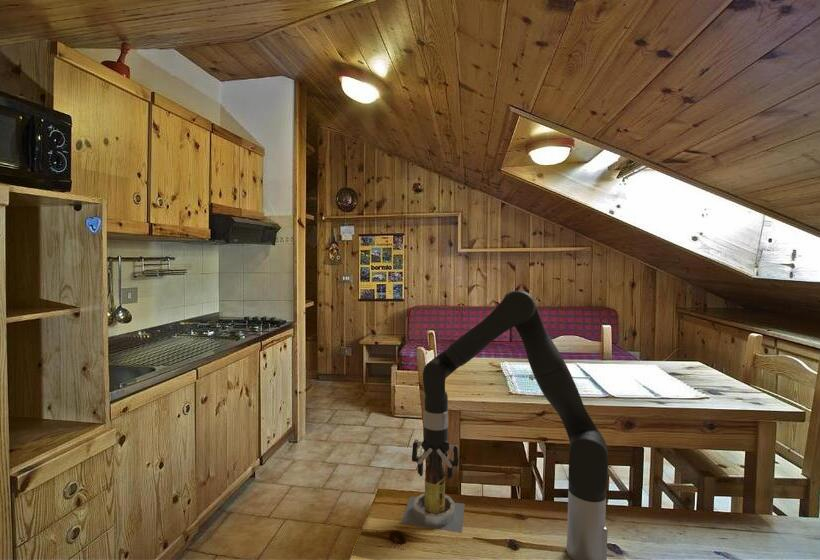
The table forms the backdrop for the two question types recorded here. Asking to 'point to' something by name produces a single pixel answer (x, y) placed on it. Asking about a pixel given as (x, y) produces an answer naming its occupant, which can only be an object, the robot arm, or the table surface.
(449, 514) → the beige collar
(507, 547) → the table surface
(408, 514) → the charcoal base
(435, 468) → the sauce bottle
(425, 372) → the robot arm
